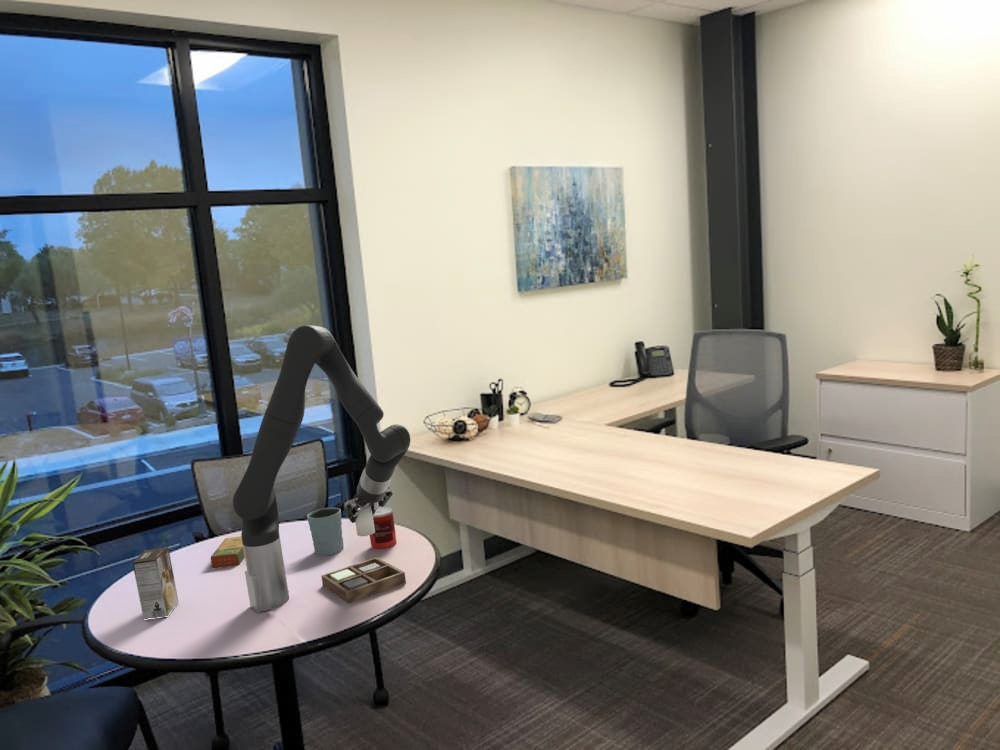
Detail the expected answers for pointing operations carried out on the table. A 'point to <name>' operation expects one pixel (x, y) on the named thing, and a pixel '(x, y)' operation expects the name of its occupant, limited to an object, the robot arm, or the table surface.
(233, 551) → the carton
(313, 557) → the table surface
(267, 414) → the robot arm
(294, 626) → the table surface
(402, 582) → the organizer
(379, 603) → the table surface
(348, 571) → the note block
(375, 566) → the grey rectangular block
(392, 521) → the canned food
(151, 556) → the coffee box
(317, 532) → the green cup
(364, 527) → the glue stick
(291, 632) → the table surface
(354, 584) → the eraser
